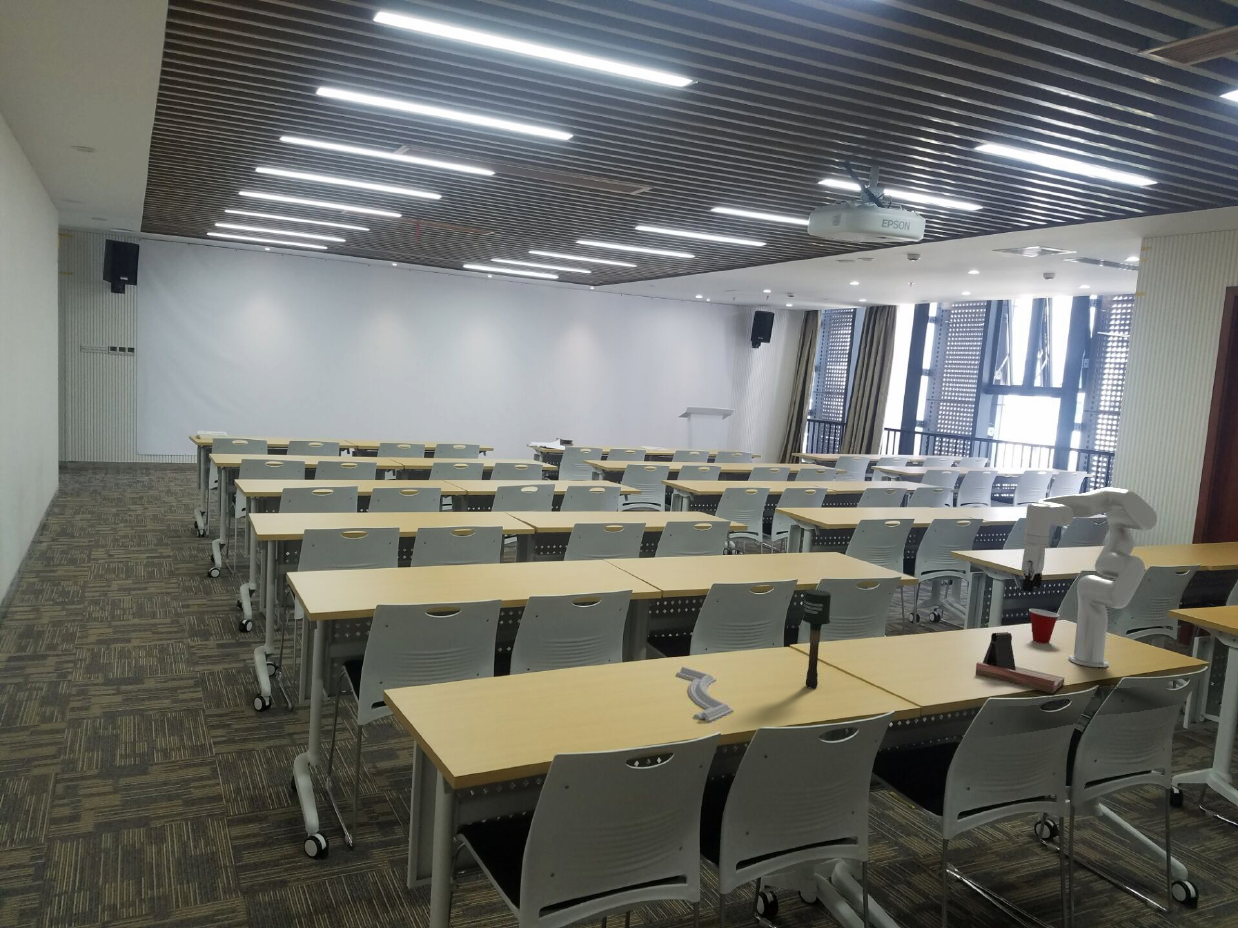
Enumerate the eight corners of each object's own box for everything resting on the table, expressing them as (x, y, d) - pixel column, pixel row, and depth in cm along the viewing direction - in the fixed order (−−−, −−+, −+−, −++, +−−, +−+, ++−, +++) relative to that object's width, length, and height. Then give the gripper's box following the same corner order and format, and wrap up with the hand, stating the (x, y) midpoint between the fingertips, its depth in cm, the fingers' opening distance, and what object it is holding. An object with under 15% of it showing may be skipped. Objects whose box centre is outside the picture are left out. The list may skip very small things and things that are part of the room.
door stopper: (1015, 671, 290) (1018, 636, 289) (1000, 672, 288) (1003, 637, 287) (997, 662, 298) (999, 628, 297) (982, 663, 297) (985, 629, 296)
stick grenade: (792, 683, 272) (798, 589, 270) (815, 681, 275) (822, 588, 273) (807, 692, 264) (813, 596, 262) (830, 690, 267) (837, 595, 265)
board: (988, 665, 302) (989, 654, 301) (1063, 683, 286) (1065, 671, 286) (975, 674, 291) (976, 662, 291) (1052, 693, 275) (1053, 680, 275)
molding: (673, 674, 277) (674, 665, 277) (711, 674, 278) (711, 665, 278) (695, 724, 235) (696, 714, 235) (739, 724, 236) (740, 714, 236)
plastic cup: (1063, 645, 333) (1066, 615, 332) (1037, 645, 332) (1040, 614, 331) (1045, 637, 344) (1048, 608, 343) (1020, 637, 342) (1023, 607, 341)
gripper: (1031, 536, 305) (1027, 583, 306) (1017, 540, 292) (1012, 590, 293) (1054, 539, 300) (1050, 587, 302) (1041, 544, 287) (1036, 594, 288)
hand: (1031, 589), depth 297 cm, fingers open, 9 cm apart
